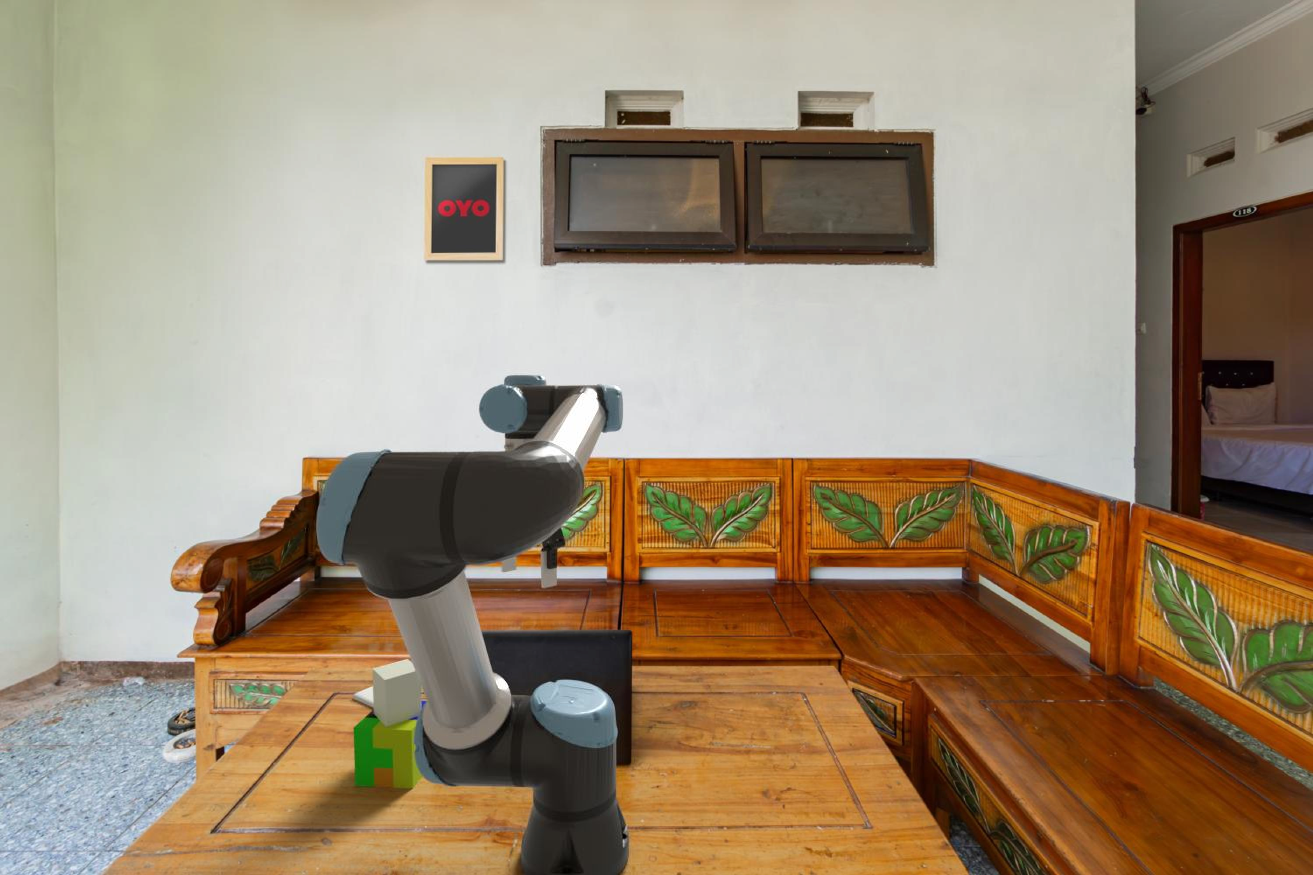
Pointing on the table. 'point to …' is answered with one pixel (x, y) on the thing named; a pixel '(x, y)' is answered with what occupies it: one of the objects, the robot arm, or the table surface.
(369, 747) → the puzzle toy
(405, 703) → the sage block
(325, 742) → the table surface
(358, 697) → the external hard drive
